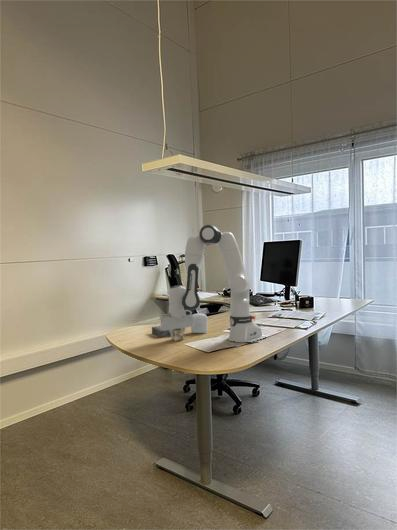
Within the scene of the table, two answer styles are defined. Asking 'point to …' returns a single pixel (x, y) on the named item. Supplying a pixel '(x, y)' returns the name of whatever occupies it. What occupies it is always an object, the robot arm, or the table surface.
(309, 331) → the table surface
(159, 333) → the riser block
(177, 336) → the ash block
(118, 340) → the table surface
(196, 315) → the photo printer
